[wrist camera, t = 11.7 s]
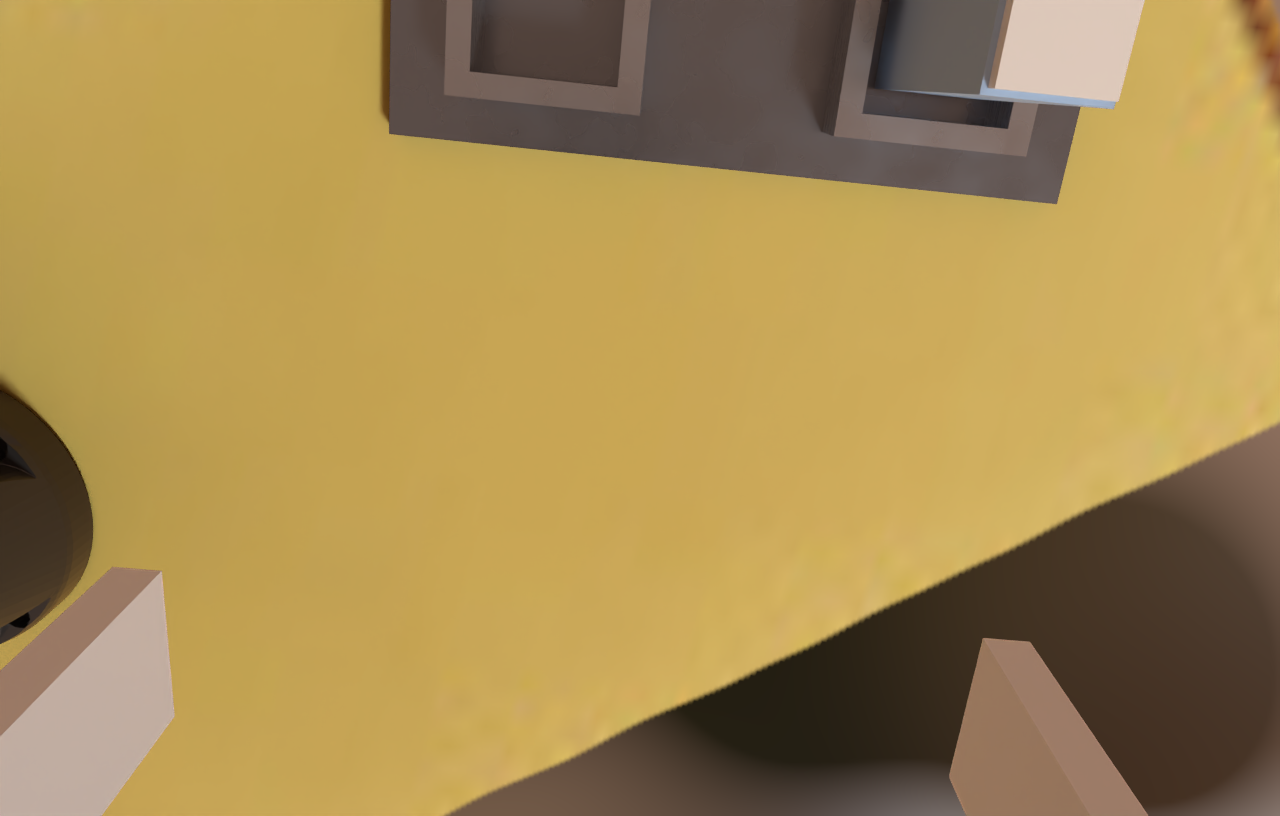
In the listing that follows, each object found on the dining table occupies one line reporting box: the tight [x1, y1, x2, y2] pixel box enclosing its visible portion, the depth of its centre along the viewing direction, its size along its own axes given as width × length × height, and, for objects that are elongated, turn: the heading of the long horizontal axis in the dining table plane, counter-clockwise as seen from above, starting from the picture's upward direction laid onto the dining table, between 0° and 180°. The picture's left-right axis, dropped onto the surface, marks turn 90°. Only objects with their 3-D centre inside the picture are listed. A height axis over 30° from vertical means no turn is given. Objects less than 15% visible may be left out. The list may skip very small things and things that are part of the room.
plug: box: [874, 0, 1145, 109], centre depth 33 cm, size 4×6×15 cm
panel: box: [389, 0, 1080, 204], centre depth 39 cm, size 30×12×4 cm, turn 84°
